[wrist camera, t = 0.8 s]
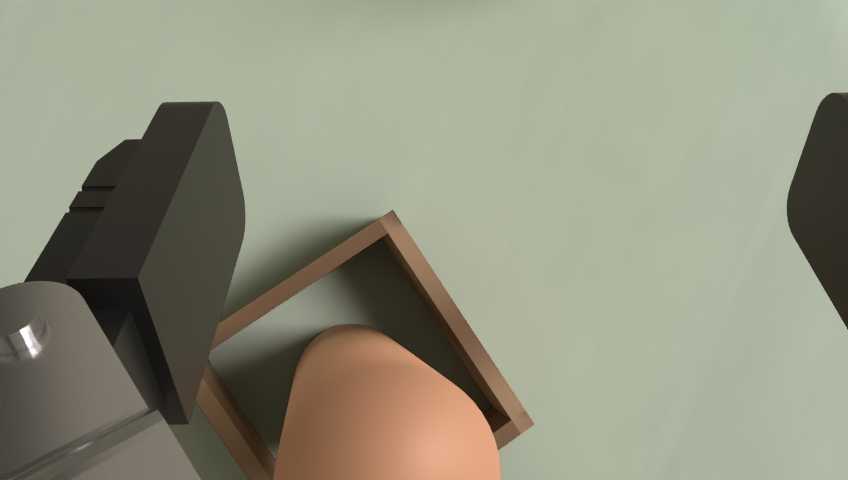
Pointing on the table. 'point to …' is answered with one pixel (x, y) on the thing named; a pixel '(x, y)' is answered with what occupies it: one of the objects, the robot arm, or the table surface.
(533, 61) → the table surface
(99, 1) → the table surface
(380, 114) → the table surface
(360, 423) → the dowel
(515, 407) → the wooden square frame
